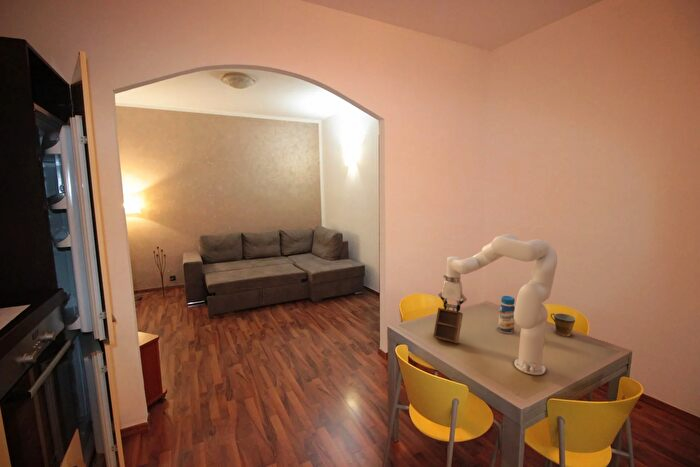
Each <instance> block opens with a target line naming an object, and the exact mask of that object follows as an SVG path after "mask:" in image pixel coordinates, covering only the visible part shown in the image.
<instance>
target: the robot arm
mask: <svg viewBox="0 0 700 467" xmlns="http://www.w3.org/2000/svg"><path fill="white" fill-rule="evenodd" d="M503 257H506V258H510V259H514V260H517V261H521V262H526V263H527V262H529V263H530V262H534V264H533V266H532V270H531V275H530V278H529V281H528V282H527V283H524V284H523V285H522V286H521V287H520V289H519V291H518V293H517V296H516V300H515V304H514V307H515V310H514V320H515V322H514V323H515V324H516V325H517V326H518V327H519V328H520V333H519V346H518V358H516V359H515V360H514V367H515V368H516V369H517V370H519V371H520V372H522V373H525V374H528V375H532V376H541V375H543V374H546V369H547V368H546V366H545V365H544V364H543V356H544V345H545V336H546V327H547V323H548V317H549V313H548V309H547V307H546V306H545V305H544V302H545V301H547V300H548V299H549V298H550V296H551V293H552V288H553V283H554V280H555V274H556V270H557V265H558V255H557V252H556V249H555V248H554V246H553V245H552V244H551V243H549V242H548V241H547V240H544V239H541V238H540V239H539V238H534V239H530V240H527V241H523V240H520V239H519V238H518V236H516V235H515V234H513V233H505V234H501V235H498V236H496V237H494V238H493V239H492V241H491V242H489V243H487V244H485V245H484V246H482V248H481V250H480V251H479V252H478V253H476V254H475V255H472V256H471V257H467V258H463V259H462V258H461V257H460V256H456V255H453V256H452V255H450V256H448V257H446V266H445V267H446V269H445V275H443V278H444V280H443V285H442V290H441V292H439V293H438V297H439V298H440V299H441V301H442V303H443V309H447V307H446V306H445V305H446V303H447V304H448V300H450V301H454V302H456V305H457V309H455V311H457V312H461V305H462V304H464V303H465V302H466V301H467V300H468V299H467V297H466V296H465V295H464V294H463V283H462V281H461V276H462V275H468V274H470V273H473V272H475V271H479V270H481V269H482V268H485V267H486V266H488V265H489V264H492V263H494V262H495V261H497V260H500V258H503ZM461 274H462V275H461Z"/></svg>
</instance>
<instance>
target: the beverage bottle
mask: <svg viewBox="0 0 700 467" xmlns="http://www.w3.org/2000/svg"><path fill="white" fill-rule="evenodd" d="M500 299H501V300H500V302H501V304H500V305H499V310H498V327H497V329H498V331H499V332H501V333H503V334H514V332H515V323H516V322H515V320H514V310H515V303H516V299H515V297H513V296H509V295H503V296H501V298H500Z"/></svg>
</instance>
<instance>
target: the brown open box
mask: <svg viewBox="0 0 700 467" xmlns="http://www.w3.org/2000/svg"><path fill="white" fill-rule="evenodd" d="M445 306H446V307H447V309H444V308H442V307H438V308H437V313H436V320H435V324H434V330H433V335H432V337H433V338H435V339H439V340H444V341H447V342H449V343H450V342H451V343H454V344H459V340H460V334H461V327H462V323H463V322H462V321H463V316H464V313H462V312H461V311H458V312H457V311H456V309H457V304H452V303H448V302H447V303H446V305H445ZM451 309H452V310H451Z"/></svg>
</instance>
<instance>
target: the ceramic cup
mask: <svg viewBox="0 0 700 467" xmlns="http://www.w3.org/2000/svg"><path fill="white" fill-rule="evenodd" d="M550 318H551V319H552V321H553V322H554V326H555V333H556V334H557V335H559V336H563V337H570V336H571V334H572V332H573V328H574V325H575V322H576V317H574V316H573V315H570V314H566V313H562V312H561V313H551V314H550Z"/></svg>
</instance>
